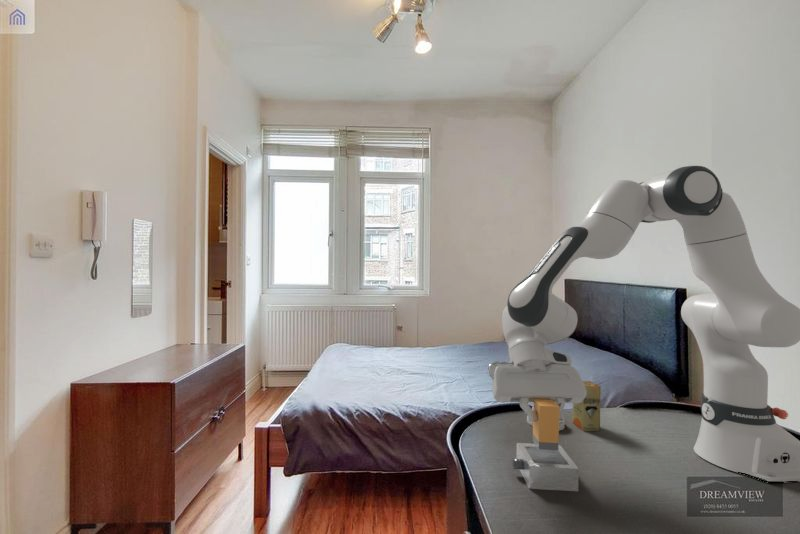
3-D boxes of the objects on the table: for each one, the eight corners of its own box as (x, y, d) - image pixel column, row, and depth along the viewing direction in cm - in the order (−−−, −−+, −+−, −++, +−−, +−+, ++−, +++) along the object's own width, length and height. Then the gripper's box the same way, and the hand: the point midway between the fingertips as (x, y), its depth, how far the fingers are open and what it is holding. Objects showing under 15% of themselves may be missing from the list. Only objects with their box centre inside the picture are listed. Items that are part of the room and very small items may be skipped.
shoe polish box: (572, 422, 104) (573, 381, 104) (589, 422, 104) (590, 381, 104) (582, 430, 99) (583, 386, 99) (599, 430, 99) (600, 387, 99)
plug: (551, 441, 78) (552, 399, 78) (558, 450, 74) (559, 406, 74) (532, 439, 79) (533, 398, 79) (538, 449, 75) (539, 405, 75)
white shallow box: (559, 464, 81) (560, 444, 81) (578, 491, 71) (578, 468, 71) (507, 462, 82) (507, 442, 82) (518, 488, 72) (519, 465, 72)
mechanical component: (528, 429, 99) (567, 434, 97) (529, 413, 99) (568, 418, 97) (525, 415, 109) (561, 419, 106) (525, 400, 109) (561, 404, 106)
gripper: (489, 354, 83) (502, 414, 73) (577, 356, 84) (600, 415, 74) (484, 368, 88) (494, 426, 78) (566, 369, 88) (587, 427, 78)
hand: (547, 421), depth 76 cm, fingers closed on plug, 4 cm apart
